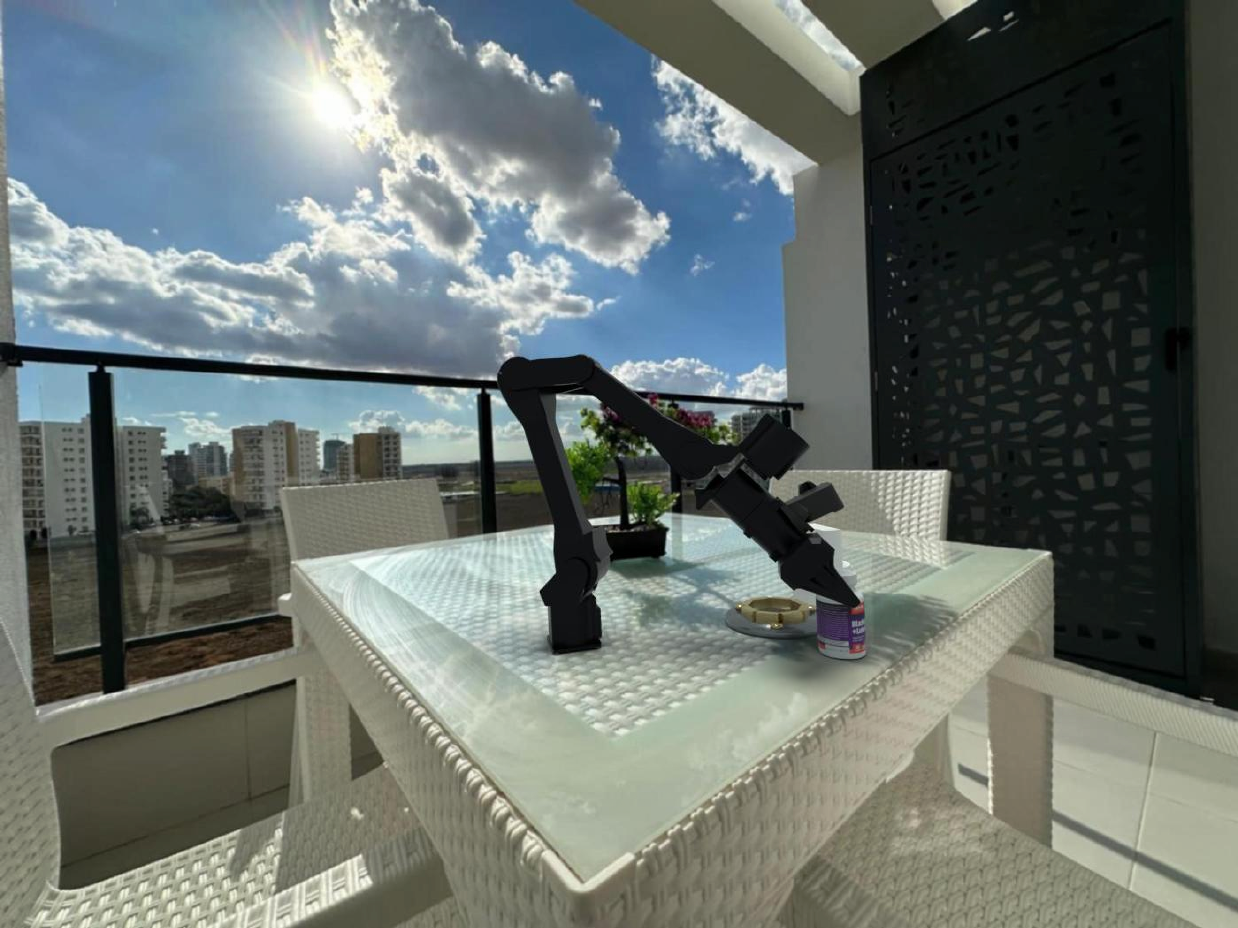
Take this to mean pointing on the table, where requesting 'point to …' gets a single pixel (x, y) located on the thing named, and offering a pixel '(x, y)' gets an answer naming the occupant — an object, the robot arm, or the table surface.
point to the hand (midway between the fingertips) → (851, 597)
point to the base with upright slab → (835, 541)
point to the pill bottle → (841, 624)
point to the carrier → (773, 618)
